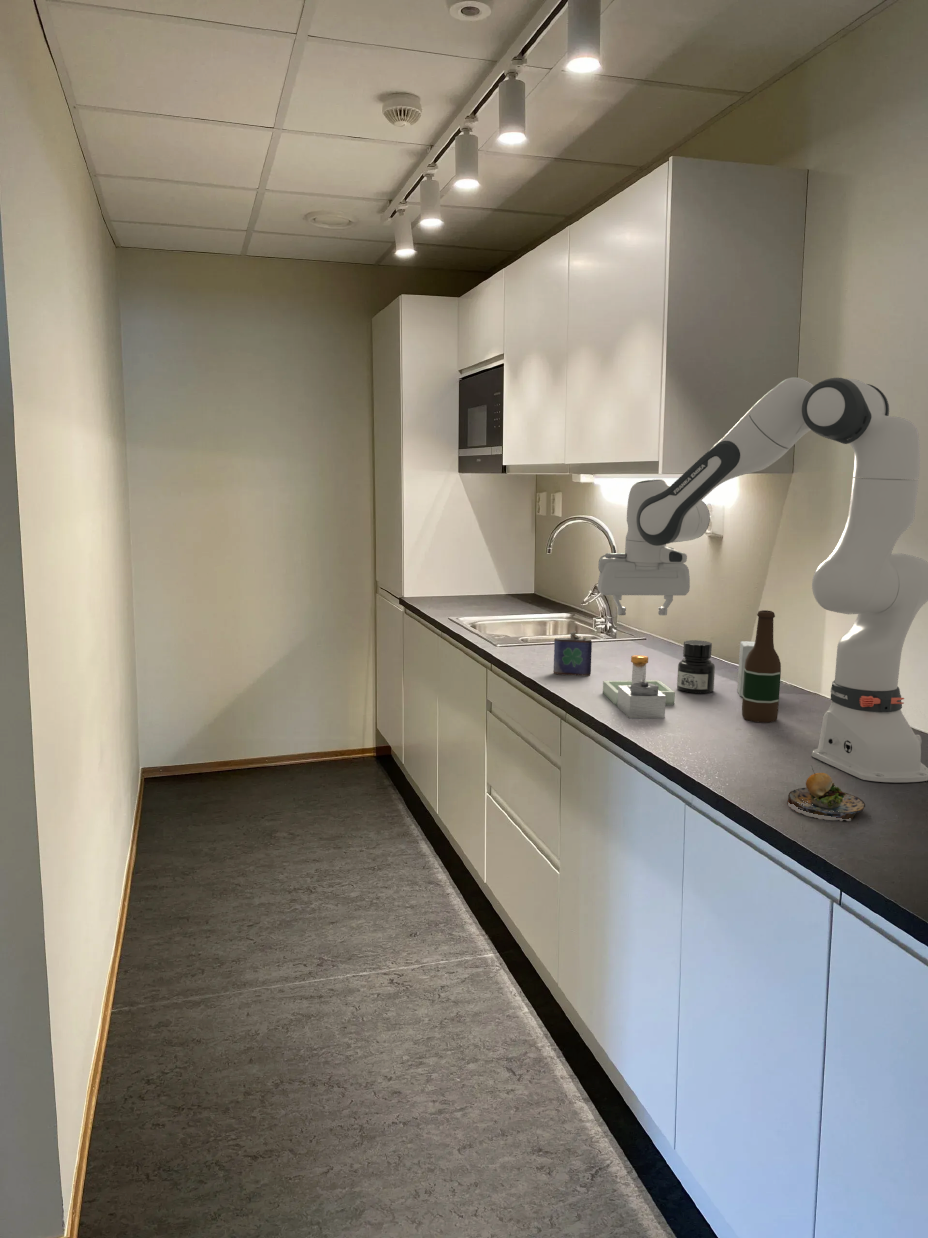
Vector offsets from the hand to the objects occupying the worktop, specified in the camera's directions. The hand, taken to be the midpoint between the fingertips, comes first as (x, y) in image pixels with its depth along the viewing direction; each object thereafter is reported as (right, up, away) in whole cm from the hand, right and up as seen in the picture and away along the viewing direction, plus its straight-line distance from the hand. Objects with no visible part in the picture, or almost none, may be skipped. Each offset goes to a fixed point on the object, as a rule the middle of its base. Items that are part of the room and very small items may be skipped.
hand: (642, 615), depth 208 cm
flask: (-11, -16, +40) cm, 44 cm away
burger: (+19, -32, -57) cm, 68 cm away
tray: (+2, -20, +14) cm, 24 cm away
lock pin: (0, -22, +4) cm, 22 cm away
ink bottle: (+18, -19, +24) cm, 35 cm away
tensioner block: (0, -22, +1) cm, 22 cm away
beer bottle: (+25, -23, -2) cm, 34 cm away
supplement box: (+31, -20, +20) cm, 42 cm away
